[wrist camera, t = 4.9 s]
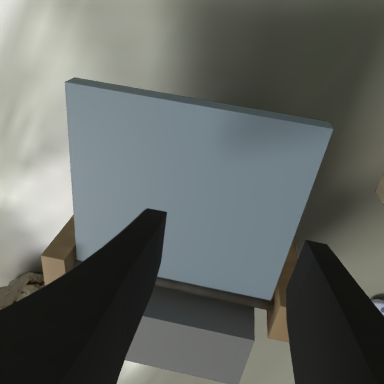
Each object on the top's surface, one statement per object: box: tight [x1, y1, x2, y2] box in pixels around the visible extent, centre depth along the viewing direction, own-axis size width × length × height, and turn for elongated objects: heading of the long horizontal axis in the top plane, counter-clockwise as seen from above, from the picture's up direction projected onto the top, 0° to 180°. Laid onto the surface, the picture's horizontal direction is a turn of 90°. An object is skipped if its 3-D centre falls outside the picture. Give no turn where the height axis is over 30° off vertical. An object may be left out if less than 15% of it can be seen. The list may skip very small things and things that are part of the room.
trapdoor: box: [65, 77, 333, 384], centre depth 16 cm, size 10×14×4 cm
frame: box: [41, 215, 297, 343], centre depth 20 cm, size 13×5×7 cm, turn 83°
